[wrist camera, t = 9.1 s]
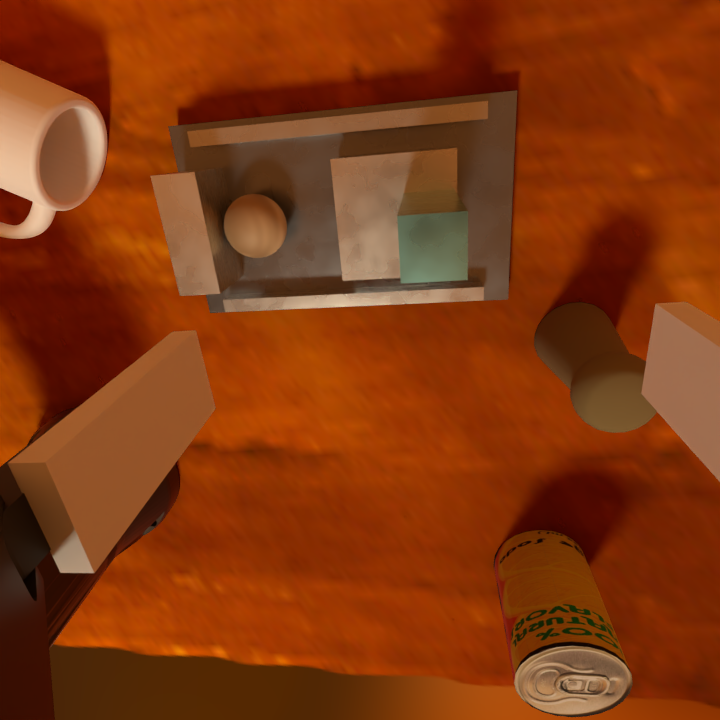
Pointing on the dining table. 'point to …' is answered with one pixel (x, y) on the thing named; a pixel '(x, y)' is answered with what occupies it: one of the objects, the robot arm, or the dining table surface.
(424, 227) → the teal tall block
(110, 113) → the dining table surface
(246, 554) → the dining table surface
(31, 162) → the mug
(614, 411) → the olive brown waisted cylinder
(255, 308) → the tray
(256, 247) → the walnut ball
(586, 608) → the beverage can
